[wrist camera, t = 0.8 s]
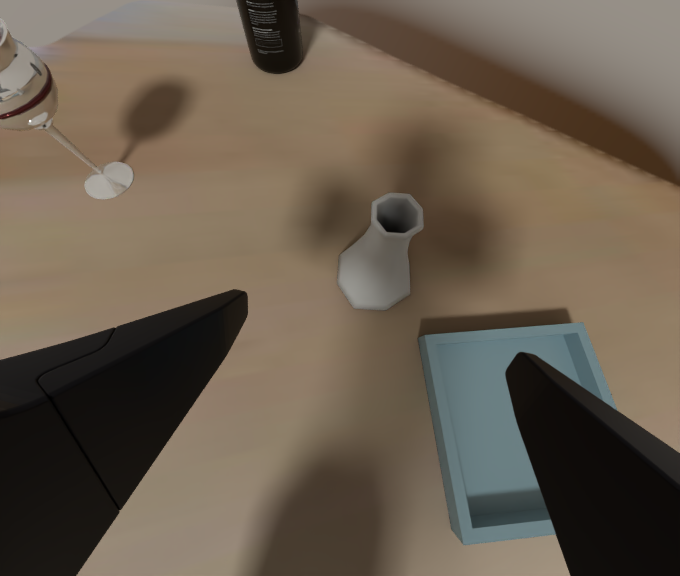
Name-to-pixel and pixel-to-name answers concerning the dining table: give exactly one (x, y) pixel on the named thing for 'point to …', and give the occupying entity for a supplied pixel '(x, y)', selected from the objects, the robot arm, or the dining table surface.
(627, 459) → the robot arm
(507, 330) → the tray
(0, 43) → the wineglass
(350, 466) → the dining table surface
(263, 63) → the supplement bottle
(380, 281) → the flask
